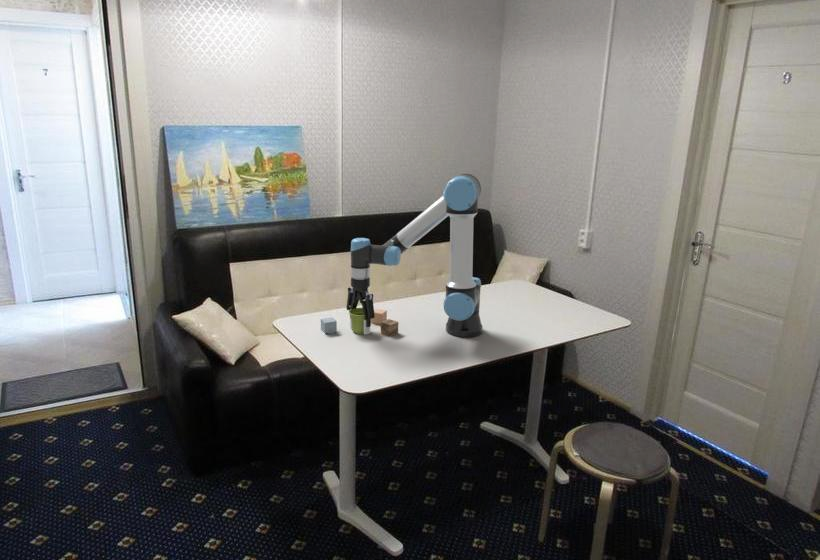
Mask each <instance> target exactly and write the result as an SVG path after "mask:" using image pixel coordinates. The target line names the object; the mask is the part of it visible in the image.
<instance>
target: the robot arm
mask: <svg viewBox="0 0 820 560" xmlns="http://www.w3.org/2000/svg"><path fill="white" fill-rule="evenodd" d="M481 192H482V186H481V182H480V181H479V179H478V177H476V176H474V175H473V174H471V173H470V174H469V173H462V174H459V175H457V176H455V177H453V178H451V179H450V180H449V181H448V183H447V184H446V185H445V188H444V191H443V194H442V196H440V198H438V199H437V200H436V201H434V202H433V203H432V204H431V205H430V206H429V207H427V208H426V209H424V210H423V212H421V213H420V214H418V215H417V217H415V218H414V219H412V221H410V222H409V223H408V224H407V225H406V226H405V227H403V228H402V229H401V230H399V231H398V232H397V233H396V234H395V235H393V236H392V237H391V238H390V239H389V240H387V241H386V242H385V243H384V244H381V245H379V244H371V243H372V242H371V241H370V239H369V238H366V237H356V238H353V239H352V240H351V242H350V277H351V278H350V286H351V287H347V298H346V299H347V300H346V311H349V310H351V309H355V308H358V304H359V303H360V304H361V308H363V311H364V315H365V319H364V333H363V335H364V336H365V335H369V334H371V326H372V323H371V319H372V318H375V315H374V310H375V307H374V294H373V293H370V292H369V289H368V288H369V287H370V286H371V284H370V283H371V278H370V274H371V272H370V271H371V269H370V268H371V265H379V266H390V267H391V266H394V267H395V266H398V265H399V264H400V262H401V258H402V257H401V256H402V254H403V253H405V252H406V251H407V250H408V249H409V248H410V247H411V246H413V245H414V244H415V243H417V242H418V241H420V239H422V238H423V237H424V236H425V235H427V234H428V233H429V232H430V231H432V230H433V229H434V228H435V227H437V226H438V225H439V224H440V223H441V222H443V221H444V220H445V219H446V218H447V217H449V222H450V223H449V225H450V226H449V230H450V231H449V234H450V235H449V238H450V239H449V279H448V280H447V282H446V283H445V298H444V300H443V310H444V313H445V314H446V316H448V319H447V322H446V324H445V332H446V333H448V334H449V335H451V336H453V337H454V336H455V337H458V338H459V337H460V338H461V337H462V338H473V337H478V336H480V335H481V334H482V333H483V329H484V328H483V324H482V321H481V317H480V304H481V303H480V301H481V288H482V281H481V279H480V278H479V277H474V276H473V271H474V270H473V269H474V268H473V267H474V266H473V265H474V263H473V261H474V259H473V258H474V218H475V217H476V215H477V214H478V212H479V210H478V209H479V204H478V203H479V197H480V196H481ZM349 320H350V322H349V323H350V327H349V328H350V329H352V322H351V317H350V316H349ZM352 330H353V329H352Z"/></svg>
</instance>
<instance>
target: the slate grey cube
mask: <svg viewBox="0 0 820 560" xmlns="http://www.w3.org/2000/svg"><path fill="white" fill-rule="evenodd" d="M337 324H338V323H337V320H336V319H335V318H334V317H324V318H320V331H321V330H322V331H323V332H324V333H325V334H324V333H323V332H322V331H321V332H322V333H323V334H324V335H327V334H326V333H331V334H335V333H334V332H338V331H337V330H338V329H337V328H338V327H337V326H338V325H337Z"/></svg>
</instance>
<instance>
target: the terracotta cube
mask: <svg viewBox="0 0 820 560" xmlns="http://www.w3.org/2000/svg"><path fill="white" fill-rule="evenodd" d="M374 315H375V318H372V319H371V324H373V323H375V325H379V324H380V325H379V326H381V322H383V321H385V320H388V319H387V318H388V310H386V309H385V310H384V309H381V308H380V309H379V308H374Z"/></svg>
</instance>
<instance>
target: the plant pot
mask: <svg viewBox="0 0 820 560" xmlns="http://www.w3.org/2000/svg"><path fill="white" fill-rule="evenodd" d="M348 314H349V318H350V317H351V322H352V333H355V334H357V335H359V334H360V335H364V319H365V315H364V311H363V307H357V308H355V309H351V310H348Z"/></svg>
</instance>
